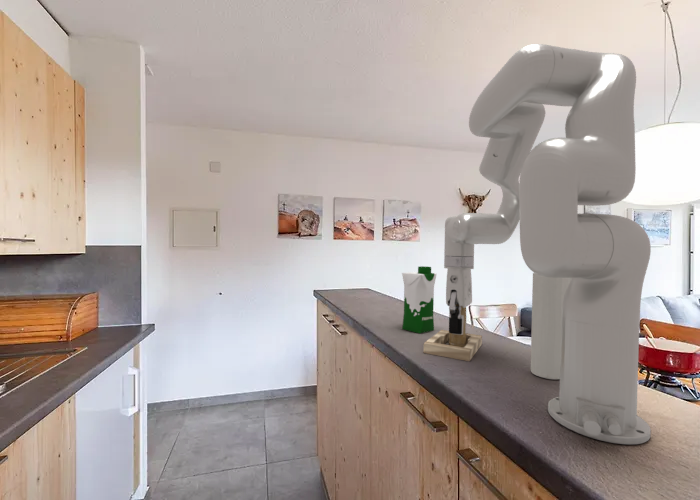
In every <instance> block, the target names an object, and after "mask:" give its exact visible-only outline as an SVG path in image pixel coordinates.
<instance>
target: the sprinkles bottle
mask: <svg viewBox="0 0 700 500" xmlns="http://www.w3.org/2000/svg"><path fill="white" fill-rule="evenodd" d="M456 306H459V304H456ZM457 311H458V309H457ZM461 319H462V334H453V333H449V341H448V345H452V346H458V347H465V346H466V345H467V344H466V333H467V307H465V308H463V307H462V308H461Z"/></svg>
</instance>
